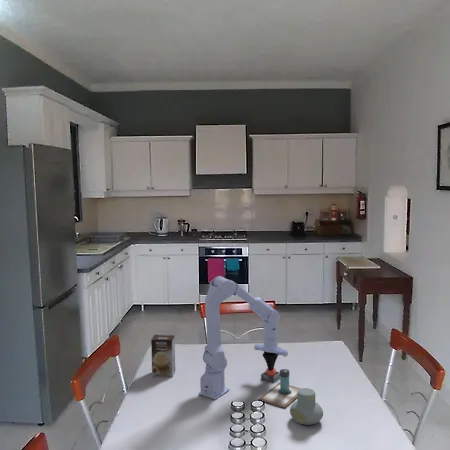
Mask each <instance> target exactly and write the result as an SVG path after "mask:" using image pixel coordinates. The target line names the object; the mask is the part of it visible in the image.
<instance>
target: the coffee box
mask: <svg viewBox="0 0 450 450" xmlns="http://www.w3.org/2000/svg"><path fill="white" fill-rule="evenodd" d="M175 336H176V335H174V334H172V335H171V334H154V335H153V336H152V338H151V340H150V344H151V346H150V347H151V377H155V378H156V377H160V378H161V377H162V378H173V377H174V375H175V373H176V337H175Z"/></svg>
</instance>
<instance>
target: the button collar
mask: <svg viewBox="0 0 450 450" xmlns="http://www.w3.org/2000/svg"><path fill="white" fill-rule="evenodd" d="M260 380H263V381H267V382H270V383H275V382H277V381H278V380H280V371H277V370H276V375H275V376H274V377H272V376H269V375H266V370H265V371H264V372H262V373H261V374H260Z"/></svg>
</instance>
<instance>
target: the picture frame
mask: <svg viewBox="0 0 450 450" xmlns="http://www.w3.org/2000/svg"><path fill="white" fill-rule="evenodd" d="M299 389H302V387H301V388H300V387H296V386H293V385H290V384H289V393H287V394H284V393H281V392H280V382H279V383H277V384H276V385H275V386H273V387H272V388H270V389H269V390H268V391H266V392H265V393H264V394H263V395H262V396H260V397H259V398H258V401H259V400H263V401H264V402H263V403H266V404H270V405H272V406H275V407H278V408H281V409H287V408H288V407H289V406H290V405H292V404H293V403H294V402H295V401H297V392H298V390H299Z"/></svg>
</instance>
